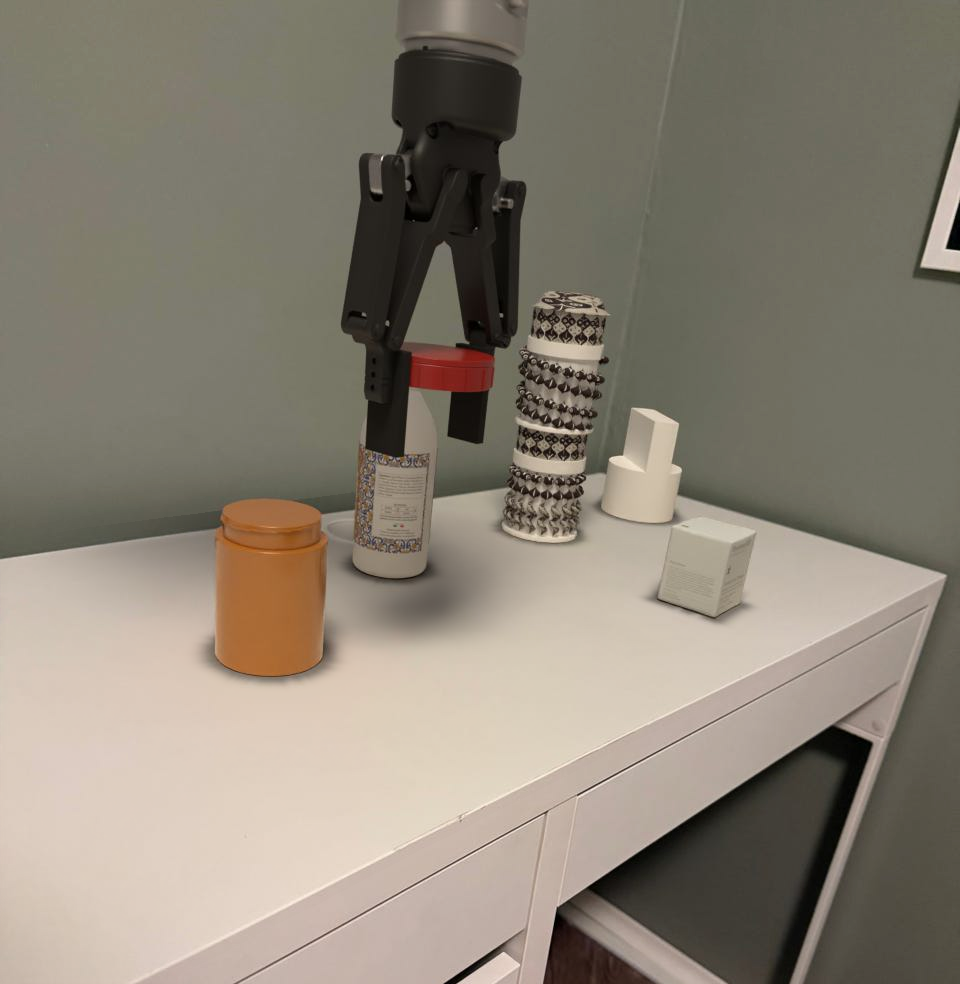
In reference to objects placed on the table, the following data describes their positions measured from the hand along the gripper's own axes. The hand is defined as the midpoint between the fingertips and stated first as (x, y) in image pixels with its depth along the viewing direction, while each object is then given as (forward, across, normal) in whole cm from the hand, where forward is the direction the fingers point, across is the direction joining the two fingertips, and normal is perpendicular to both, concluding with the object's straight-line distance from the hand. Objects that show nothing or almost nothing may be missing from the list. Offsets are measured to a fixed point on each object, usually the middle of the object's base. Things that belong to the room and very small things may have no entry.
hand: (426, 445), depth 63 cm
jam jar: (+16, -8, +7) cm, 19 cm away
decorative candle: (+16, +36, +12) cm, 41 cm away
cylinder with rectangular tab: (+16, +54, +9) cm, 57 cm away
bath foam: (+16, +13, +14) cm, 25 cm away
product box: (+16, +30, -10) cm, 36 cm away
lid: (-6, 0, 0) cm, 6 cm away
